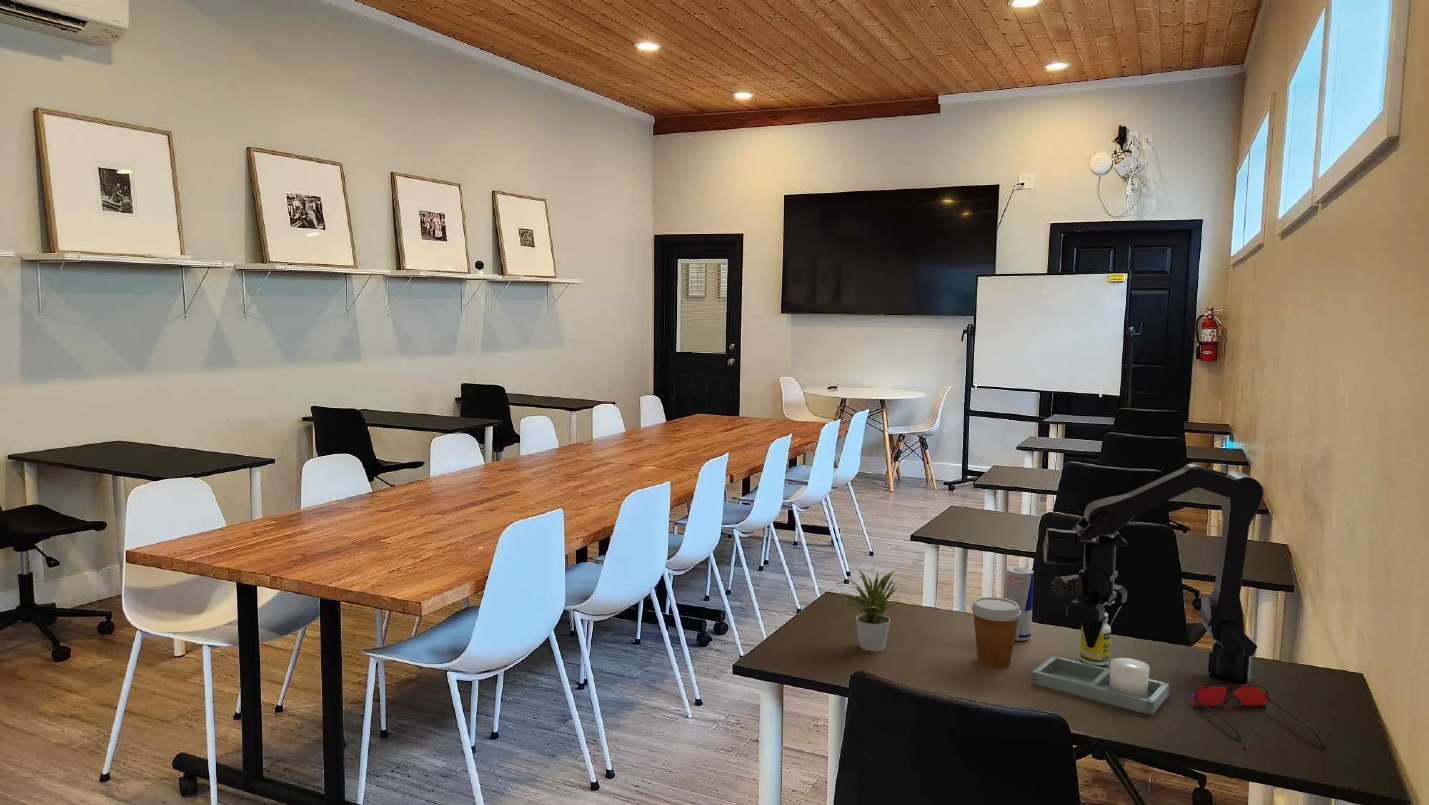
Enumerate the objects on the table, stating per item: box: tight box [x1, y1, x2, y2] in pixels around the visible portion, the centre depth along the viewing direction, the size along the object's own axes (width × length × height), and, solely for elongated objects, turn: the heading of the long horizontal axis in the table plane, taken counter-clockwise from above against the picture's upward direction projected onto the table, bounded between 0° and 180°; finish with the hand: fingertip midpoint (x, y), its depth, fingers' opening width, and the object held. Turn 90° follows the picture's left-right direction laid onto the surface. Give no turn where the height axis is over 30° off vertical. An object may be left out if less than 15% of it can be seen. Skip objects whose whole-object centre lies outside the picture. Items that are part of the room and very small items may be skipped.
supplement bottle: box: [1079, 612, 1112, 666], centre depth 184 cm, size 5×5×10 cm
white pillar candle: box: [1109, 657, 1150, 699], centre depth 168 cm, size 6×6×6 cm
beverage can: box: [1004, 566, 1035, 642], centre depth 200 cm, size 6×6×15 cm
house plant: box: [837, 568, 903, 652], centre depth 194 cm, size 14×14×16 cm
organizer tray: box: [1031, 655, 1170, 716], centre depth 172 cm, size 21×11×3 cm, turn 50°
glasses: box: [1190, 684, 1329, 752], centre depth 158 cm, size 14×16×5 cm
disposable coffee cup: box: [970, 596, 1021, 669], centre depth 186 cm, size 10×10×12 cm
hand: (1095, 643), depth 185 cm, fingers closed on supplement bottle, 5 cm apart
